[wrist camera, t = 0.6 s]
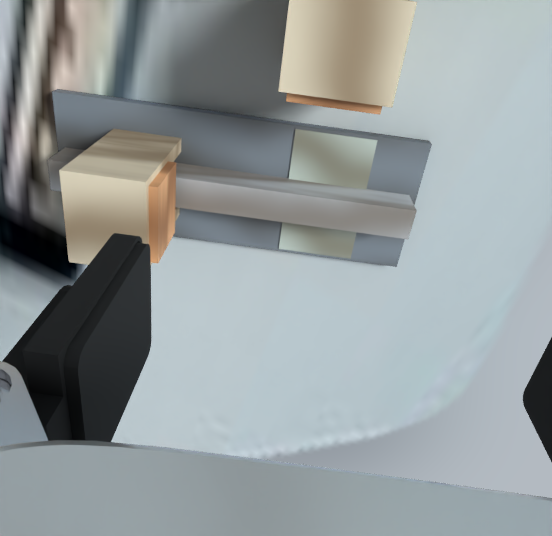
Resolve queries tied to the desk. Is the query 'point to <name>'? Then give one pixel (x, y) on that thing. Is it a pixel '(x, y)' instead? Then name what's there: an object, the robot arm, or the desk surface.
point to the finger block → (345, 52)
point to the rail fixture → (229, 180)
